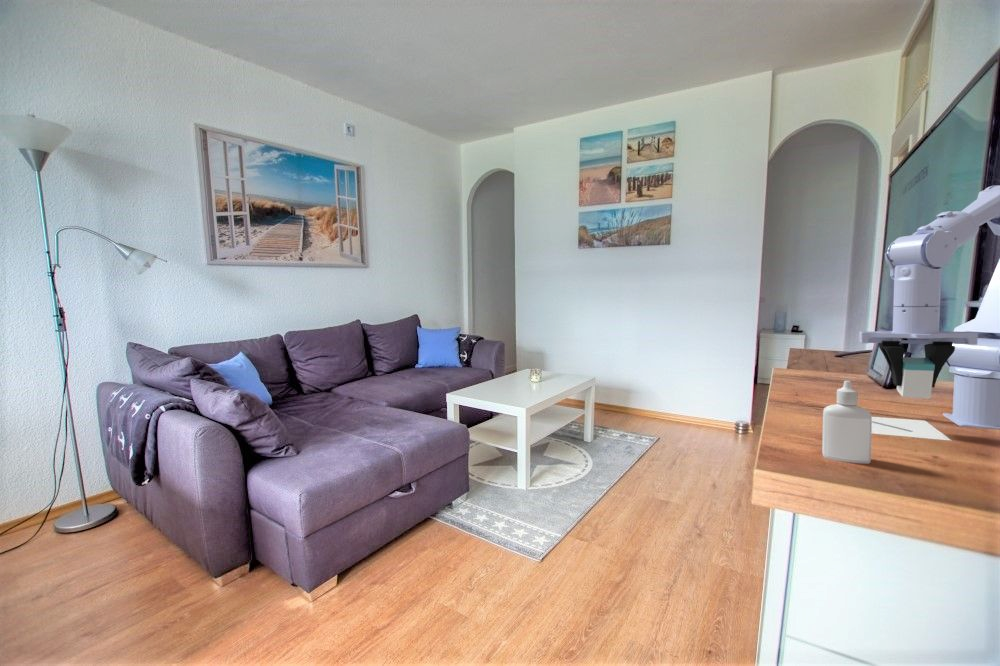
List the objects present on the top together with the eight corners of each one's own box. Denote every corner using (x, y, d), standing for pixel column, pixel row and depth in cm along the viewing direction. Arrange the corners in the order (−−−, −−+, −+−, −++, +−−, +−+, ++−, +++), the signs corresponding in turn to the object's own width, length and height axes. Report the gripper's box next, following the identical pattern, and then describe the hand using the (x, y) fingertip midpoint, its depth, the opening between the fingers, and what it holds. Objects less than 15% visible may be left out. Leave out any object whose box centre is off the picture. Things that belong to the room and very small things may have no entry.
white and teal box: (923, 390, 75) (927, 357, 74) (931, 399, 72) (935, 364, 71) (896, 389, 77) (899, 357, 76) (902, 397, 74) (905, 364, 73)
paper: (925, 422, 81) (925, 420, 81) (951, 442, 70) (951, 440, 70) (843, 416, 87) (843, 414, 87) (857, 433, 76) (857, 431, 76)
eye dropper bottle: (861, 469, 62) (863, 386, 61) (817, 457, 67) (818, 380, 66) (875, 462, 64) (877, 382, 63) (831, 451, 69) (833, 376, 68)
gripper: (866, 308, 74) (864, 387, 75) (988, 306, 66) (984, 393, 68) (857, 306, 80) (855, 379, 81) (968, 304, 73) (964, 384, 74)
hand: (913, 385), depth 75 cm, fingers closed on white and teal box, 3 cm apart
